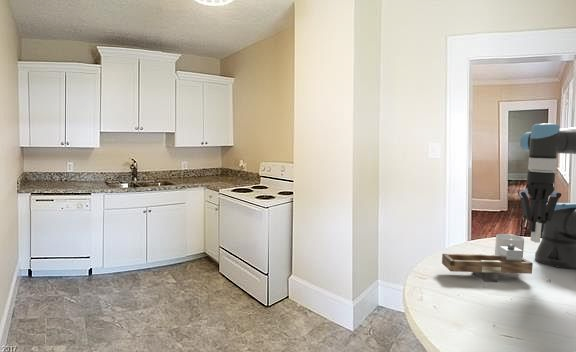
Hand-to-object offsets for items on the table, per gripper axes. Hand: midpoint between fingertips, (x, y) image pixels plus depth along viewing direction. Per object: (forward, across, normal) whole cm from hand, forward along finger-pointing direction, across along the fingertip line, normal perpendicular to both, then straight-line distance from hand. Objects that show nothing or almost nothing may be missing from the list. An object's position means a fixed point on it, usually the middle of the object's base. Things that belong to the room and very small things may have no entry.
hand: (535, 241), depth 124 cm
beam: (+13, +16, 0) cm, 20 cm away
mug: (+13, 0, -13) cm, 18 cm away
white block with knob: (+8, +8, 0) cm, 11 cm away
